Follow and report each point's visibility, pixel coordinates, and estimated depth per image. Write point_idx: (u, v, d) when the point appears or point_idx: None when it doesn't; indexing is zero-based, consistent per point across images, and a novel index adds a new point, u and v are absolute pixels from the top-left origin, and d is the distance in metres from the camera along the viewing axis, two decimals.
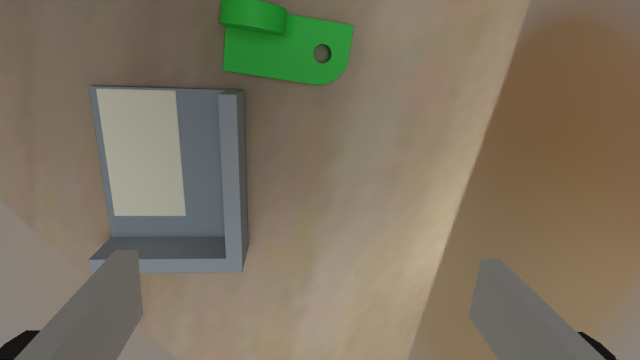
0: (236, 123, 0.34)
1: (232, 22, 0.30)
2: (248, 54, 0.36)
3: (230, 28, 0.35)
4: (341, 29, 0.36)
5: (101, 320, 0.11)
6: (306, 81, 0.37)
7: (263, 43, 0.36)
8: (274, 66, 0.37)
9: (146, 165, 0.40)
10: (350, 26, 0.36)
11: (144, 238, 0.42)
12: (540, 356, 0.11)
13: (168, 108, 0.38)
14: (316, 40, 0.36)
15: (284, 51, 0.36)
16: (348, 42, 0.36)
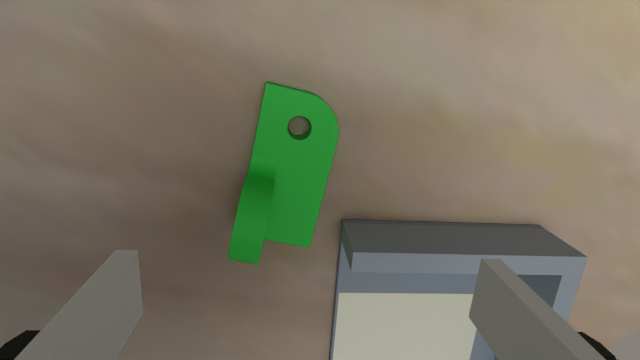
0: (388, 253, 0.27)
1: (257, 258, 0.24)
2: (293, 217, 0.30)
3: None
4: (270, 100, 0.27)
5: (101, 320, 0.11)
6: (332, 151, 0.28)
7: (282, 199, 0.29)
8: (310, 189, 0.29)
9: (418, 326, 0.35)
10: (267, 87, 0.26)
11: None
12: (540, 356, 0.11)
13: (357, 300, 0.34)
14: (282, 134, 0.28)
15: (293, 175, 0.29)
16: (287, 91, 0.27)
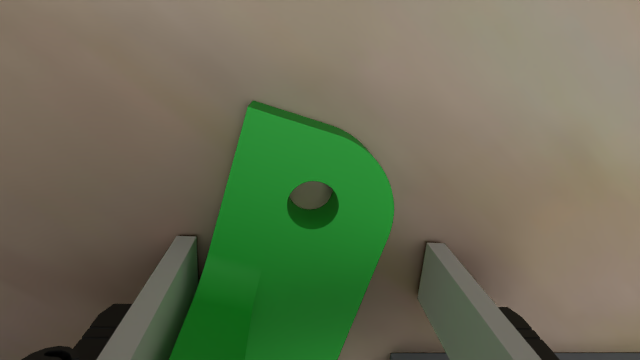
0: None
1: None
2: None
3: None
4: (254, 145, 0.12)
5: (176, 296, 0.12)
6: (376, 254, 0.14)
7: (265, 338, 0.14)
8: (323, 322, 0.14)
9: None
10: (249, 117, 0.12)
11: None
12: (465, 328, 0.12)
13: None
14: (275, 217, 0.13)
15: (291, 296, 0.14)
16: (293, 129, 0.12)
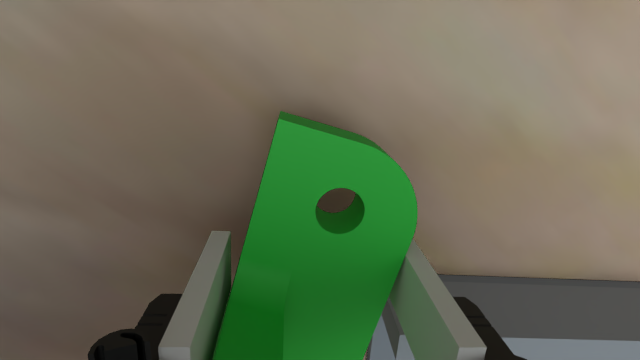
0: None
1: None
2: None
3: None
4: (284, 155, 0.13)
5: (218, 287, 0.13)
6: (400, 257, 0.14)
7: (294, 338, 0.15)
8: (349, 322, 0.15)
9: None
10: (279, 128, 0.12)
11: None
12: (421, 316, 0.12)
13: None
14: (304, 222, 0.14)
15: (319, 298, 0.15)
16: (322, 139, 0.13)
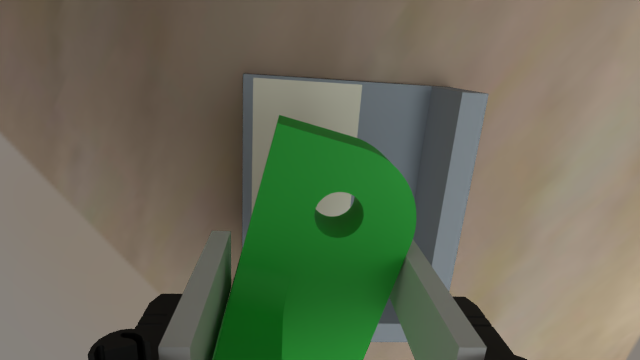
0: (478, 136, 0.23)
1: None
2: None
3: None
4: (283, 159, 0.13)
5: (218, 287, 0.13)
6: (399, 261, 0.14)
7: (293, 342, 0.15)
8: (348, 326, 0.15)
9: None
10: (278, 133, 0.12)
11: None
12: (421, 316, 0.12)
13: (348, 109, 0.27)
14: (303, 226, 0.14)
15: (318, 302, 0.15)
16: (320, 143, 0.13)
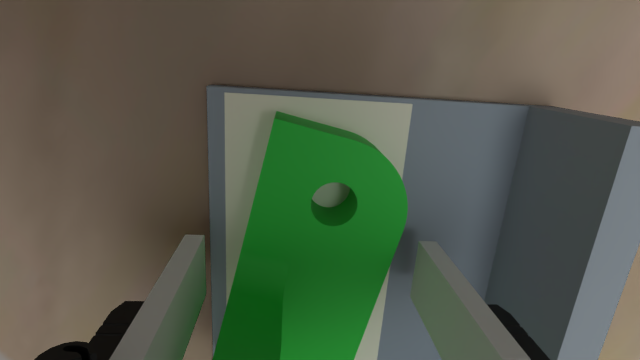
0: None
1: None
2: (312, 356, 0.16)
3: None
4: (280, 152, 0.14)
5: (186, 294, 0.12)
6: (392, 247, 0.15)
7: (293, 326, 0.16)
8: (346, 310, 0.16)
9: None
10: (275, 127, 0.13)
11: None
12: (454, 325, 0.12)
13: (387, 145, 0.16)
14: (300, 216, 0.14)
15: (316, 287, 0.15)
16: (315, 136, 0.13)
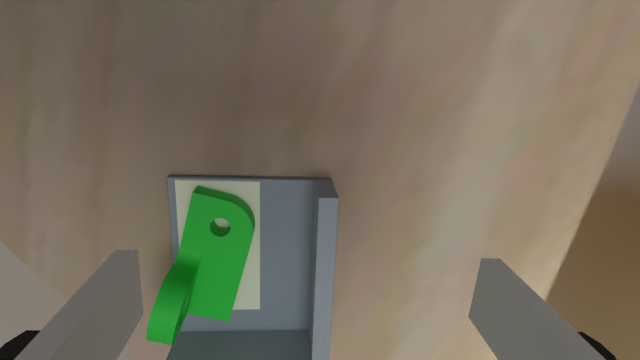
0: (336, 227, 0.31)
1: (170, 342, 0.30)
2: (214, 297, 0.35)
3: (189, 310, 0.35)
4: (195, 205, 0.32)
5: (101, 320, 0.11)
6: (248, 246, 0.34)
7: (205, 282, 0.35)
8: (229, 275, 0.35)
9: None
10: (193, 195, 0.32)
11: (214, 333, 0.38)
12: (540, 356, 0.11)
13: (250, 199, 0.35)
14: (205, 232, 0.33)
15: (214, 264, 0.34)
16: (210, 199, 0.32)
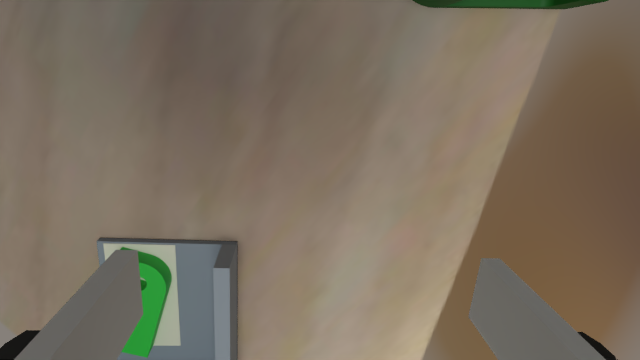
0: (228, 290, 0.38)
1: None
2: (135, 338, 0.42)
3: None
4: None
5: (101, 320, 0.11)
6: (162, 299, 0.41)
7: None
8: (146, 321, 0.42)
9: None
10: None
11: None
12: (540, 356, 0.11)
13: (168, 259, 0.42)
14: None
15: None
16: None
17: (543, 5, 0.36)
